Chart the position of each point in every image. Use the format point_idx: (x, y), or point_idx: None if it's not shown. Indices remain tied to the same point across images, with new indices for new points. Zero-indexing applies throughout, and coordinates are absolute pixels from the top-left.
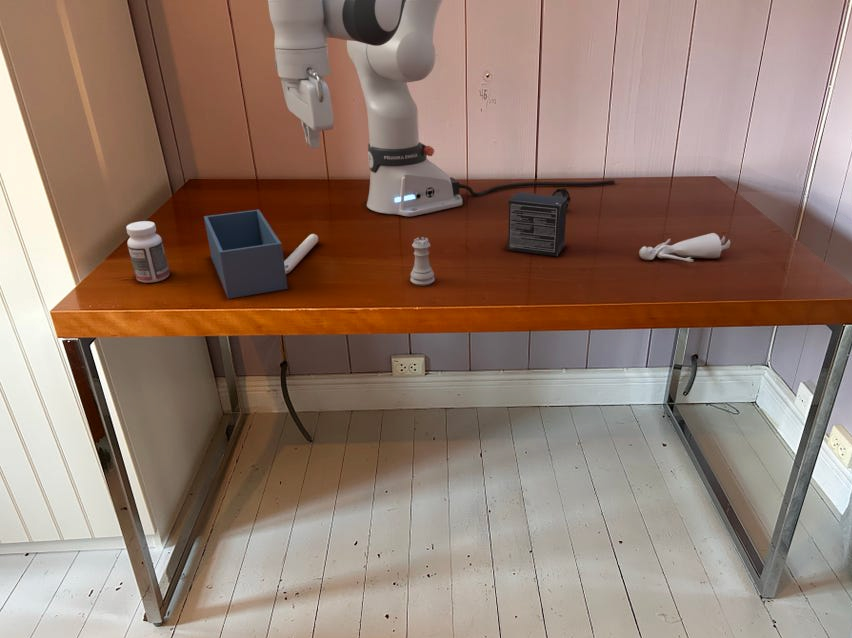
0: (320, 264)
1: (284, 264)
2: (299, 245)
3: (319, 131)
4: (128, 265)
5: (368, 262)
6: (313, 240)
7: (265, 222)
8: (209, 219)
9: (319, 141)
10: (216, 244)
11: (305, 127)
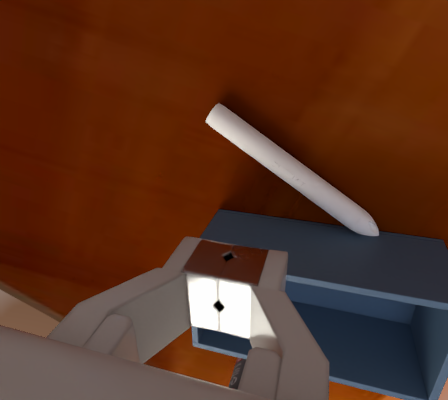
0: (349, 138)
1: (364, 228)
2: (263, 163)
3: (312, 338)
4: (200, 367)
5: (412, 18)
6: (240, 123)
7: (289, 279)
8: (200, 336)
9: (283, 268)
10: (379, 392)
11: (140, 353)
